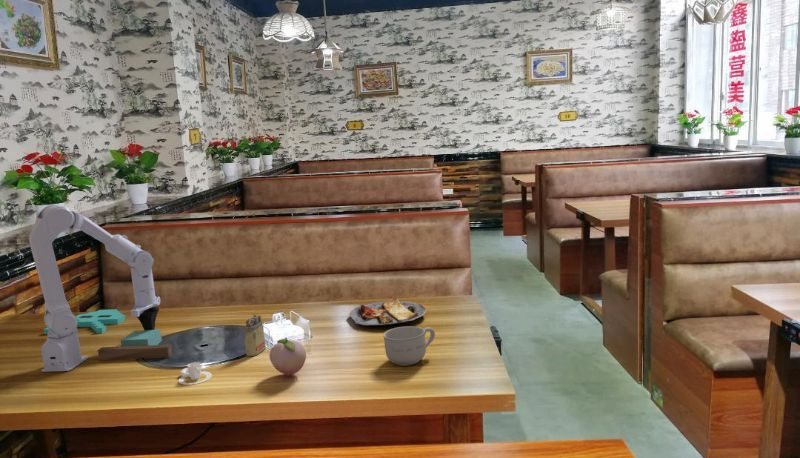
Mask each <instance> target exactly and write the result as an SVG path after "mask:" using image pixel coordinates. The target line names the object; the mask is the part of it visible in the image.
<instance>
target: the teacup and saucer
mask: <svg viewBox="0 0 800 458" xmlns="http://www.w3.org/2000/svg"><path fill="white" fill-rule="evenodd" d="M186 366H187V367H185V368H183V369H181V370H180V373H179V374H180V376H181V377H180V378H179V379H178V383H179V384H181V385H184V386H192V385H193V386H194V385H198V384H202V383H204V382H207V381H208V380H210V379H211V378H212V377H213V376H212V373H211V372H209V371H204V370H203V371H202V365H201V362H199V361H195V362H190V363H188V364H187V365H186ZM202 375H204V376H206V377H204V379H202V380H200V381H197V380H199V379H201V376H202ZM186 378H190V379H191V381H196V382H187V381H186V382H185V379H186Z"/></svg>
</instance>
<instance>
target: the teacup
mask: <svg viewBox="0 0 800 458" xmlns="http://www.w3.org/2000/svg"><path fill="white" fill-rule="evenodd" d="M428 332H429V337H428V339H426V334H427V333H428ZM382 335H383V340H384V342H383V343H384V350H385V355H386V357H387V359H388V360H389V361H390V362H392V363H393V364H395V365H397V366H403V367H404V366H411V365H415V364H418V363H419V362H420V361H421V360H422V359H423V358H424V356H425V354H426V352H427V348H428V346H429V345H430V344H431V343H433V341H434V339H435V337H436V332H435V330H434V329H433V328H432V327H429V326H428V327H424V328H423V327H419V326H412V325H411V326H410V325H409V326H407V325H406V326H399V327H394V328H391V329H388V330H386V331H385V332H384V333H383V334H382Z"/></svg>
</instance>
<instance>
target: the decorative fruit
mask: <svg viewBox="0 0 800 458" xmlns="http://www.w3.org/2000/svg"><path fill="white" fill-rule="evenodd" d="M284 337H285V336H284ZM268 356H269V359H270V363H271V364H272V366H273V367H274V368H275V370H276V371H278V373H280V374H283V375H285V376H287V377H291V376H293V375H295V374H297V373H298V372H300V371H301V369H302V368H303V366H304V364H305V362H306V359H307V351H306V348H305V346H304V345H303V344H302V343H300V342H298V341H297V340H293V339H288V337H285V338H282V339H281V338H280V339H278V340H277V343H275V344H274V345H273V346H272V348H271V349H270V352H269V355H268Z"/></svg>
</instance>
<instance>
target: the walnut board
mask: <svg viewBox="0 0 800 458" xmlns="http://www.w3.org/2000/svg"><path fill="white" fill-rule="evenodd" d="M97 352H98V360H99V361H111V360H112V361H113V360H114V361H116V360H117V361H118V360H137V359H138V360H140V359H139V358H144V359H168V358H171V356H172V346H171V344H158V345H150V346H124V347H122V346H105V347H100V348H99V349H97Z"/></svg>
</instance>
